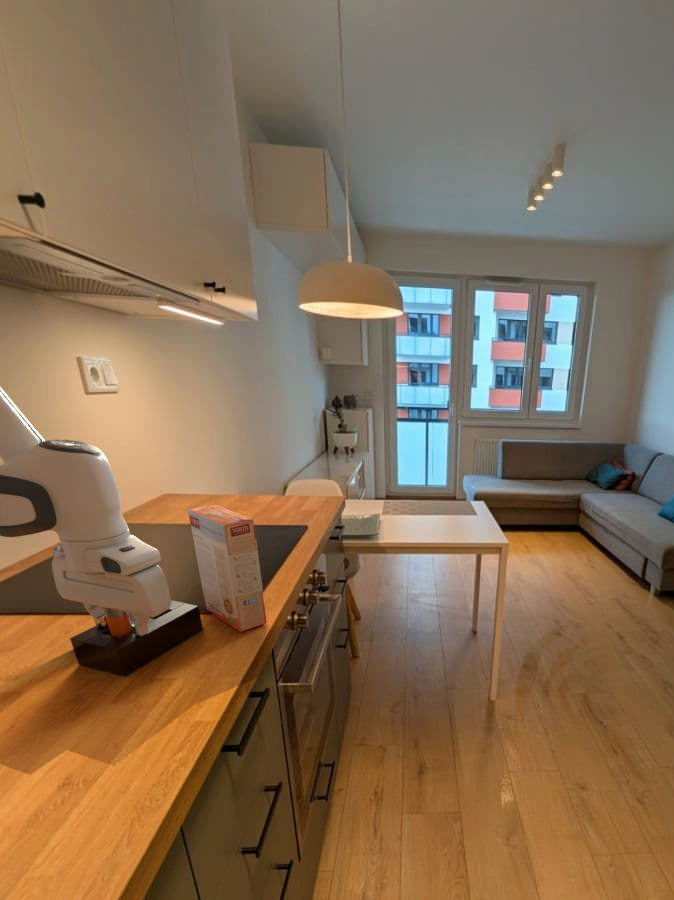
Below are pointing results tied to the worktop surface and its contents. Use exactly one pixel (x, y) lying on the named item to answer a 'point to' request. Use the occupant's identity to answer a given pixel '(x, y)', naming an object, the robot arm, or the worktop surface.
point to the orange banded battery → (118, 622)
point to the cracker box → (228, 566)
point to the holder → (137, 641)
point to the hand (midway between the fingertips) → (122, 629)
